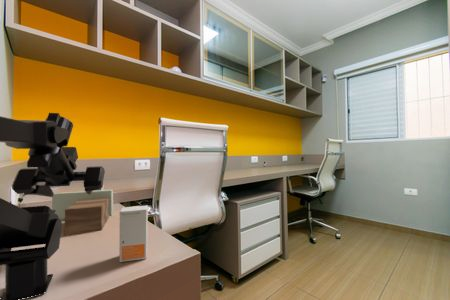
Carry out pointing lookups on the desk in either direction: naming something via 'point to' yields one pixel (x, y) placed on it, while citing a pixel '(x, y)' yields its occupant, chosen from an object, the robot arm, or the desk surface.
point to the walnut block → (86, 216)
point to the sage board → (68, 198)
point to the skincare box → (133, 233)
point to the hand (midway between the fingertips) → (71, 194)
